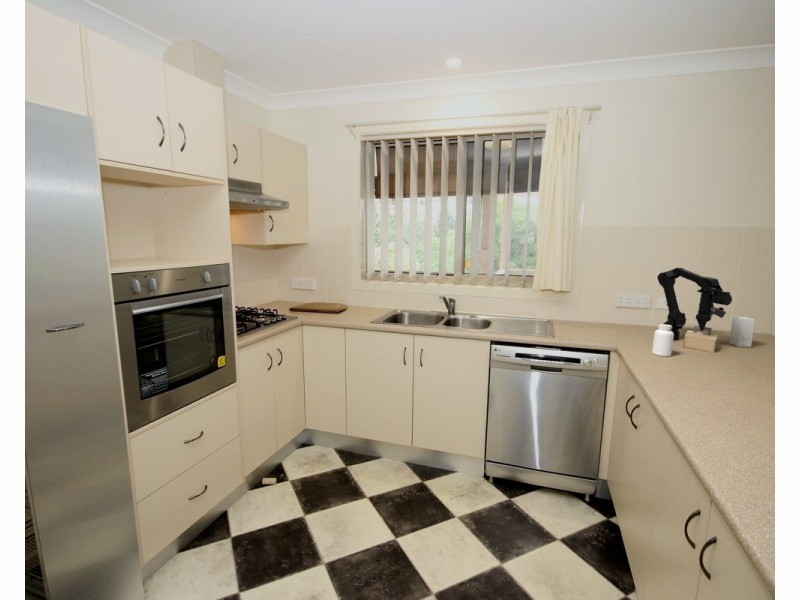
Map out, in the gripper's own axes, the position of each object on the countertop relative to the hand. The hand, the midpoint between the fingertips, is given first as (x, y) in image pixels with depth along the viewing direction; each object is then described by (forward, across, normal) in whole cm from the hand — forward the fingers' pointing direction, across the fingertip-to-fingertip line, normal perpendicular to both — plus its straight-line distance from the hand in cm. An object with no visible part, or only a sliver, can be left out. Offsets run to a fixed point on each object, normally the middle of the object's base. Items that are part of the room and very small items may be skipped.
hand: (702, 330), depth 208 cm
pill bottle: (+9, -33, +13) cm, 37 cm away
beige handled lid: (+3, -3, 0) cm, 4 cm away
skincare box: (+10, +21, -16) cm, 28 cm away
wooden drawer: (+9, -3, 0) cm, 10 cm away
